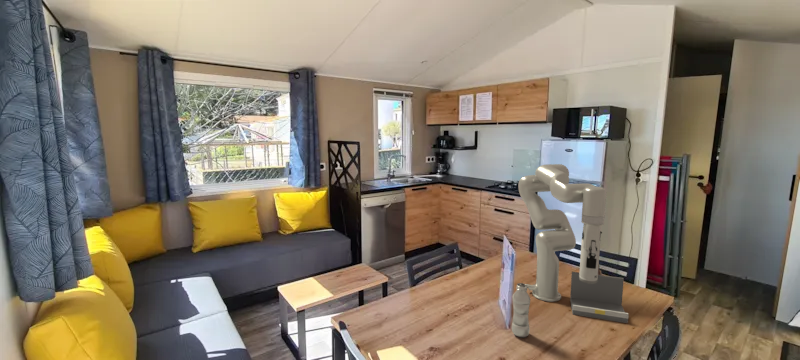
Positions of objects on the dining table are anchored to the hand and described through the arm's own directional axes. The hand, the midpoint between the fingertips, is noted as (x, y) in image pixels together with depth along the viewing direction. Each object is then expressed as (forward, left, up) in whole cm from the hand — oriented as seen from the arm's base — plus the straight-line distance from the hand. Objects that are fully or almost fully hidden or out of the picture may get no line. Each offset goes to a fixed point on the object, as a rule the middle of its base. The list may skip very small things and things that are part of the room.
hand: (589, 264), depth 133 cm
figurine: (+9, +49, -26) cm, 56 cm away
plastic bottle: (-24, -14, -26) cm, 38 cm away
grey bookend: (+6, +16, -26) cm, 31 cm away
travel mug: (0, 0, -7) cm, 7 cm away
